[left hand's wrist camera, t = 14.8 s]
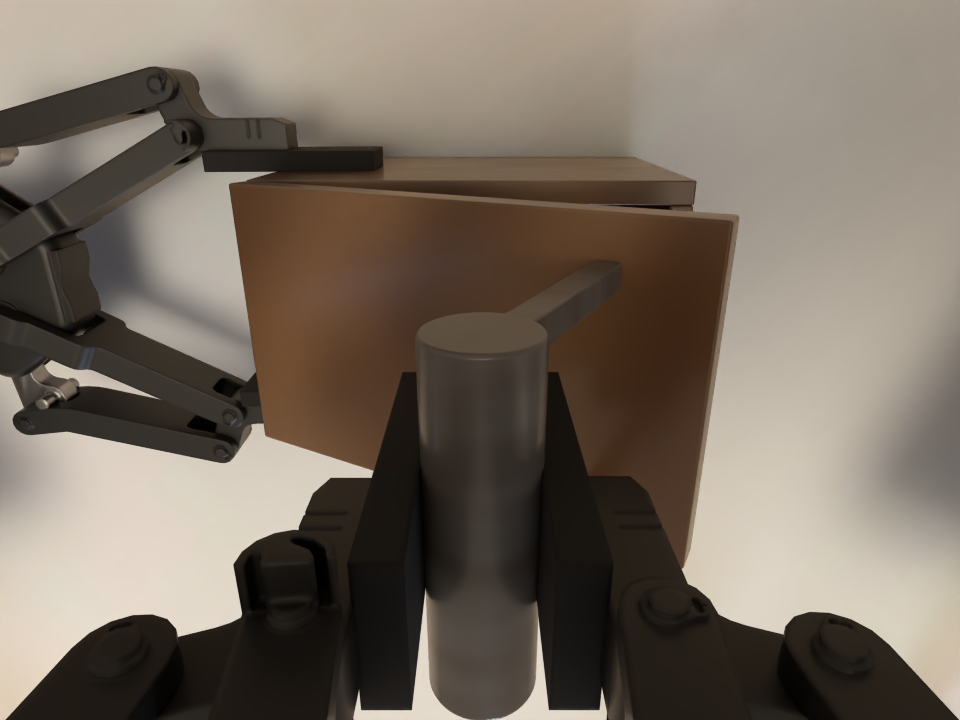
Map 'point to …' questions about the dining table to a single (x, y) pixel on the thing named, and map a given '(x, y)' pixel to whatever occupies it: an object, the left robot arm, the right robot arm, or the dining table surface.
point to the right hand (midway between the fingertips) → (385, 279)
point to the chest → (518, 180)
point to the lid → (487, 374)
